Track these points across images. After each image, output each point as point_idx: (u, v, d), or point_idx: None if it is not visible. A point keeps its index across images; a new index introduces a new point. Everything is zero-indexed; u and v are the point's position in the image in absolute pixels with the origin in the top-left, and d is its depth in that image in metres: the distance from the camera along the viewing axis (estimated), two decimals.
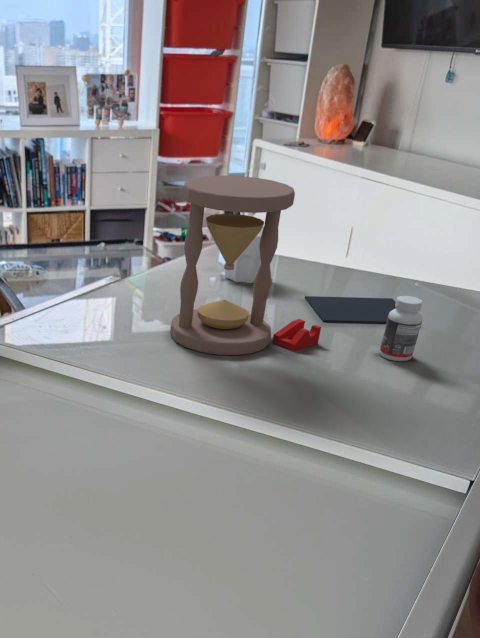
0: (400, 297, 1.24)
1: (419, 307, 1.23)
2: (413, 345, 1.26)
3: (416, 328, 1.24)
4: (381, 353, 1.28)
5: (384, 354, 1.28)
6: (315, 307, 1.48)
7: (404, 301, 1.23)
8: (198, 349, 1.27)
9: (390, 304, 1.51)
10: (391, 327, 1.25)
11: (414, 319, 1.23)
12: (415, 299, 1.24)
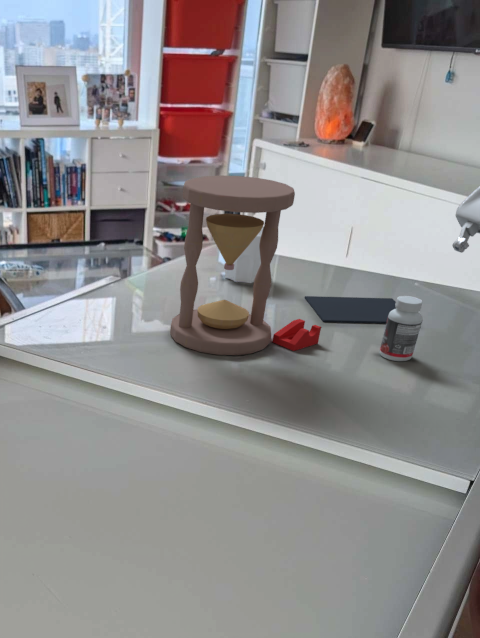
0: (400, 297, 1.24)
1: (419, 307, 1.23)
2: (413, 345, 1.26)
3: (416, 328, 1.24)
4: (381, 353, 1.28)
5: (384, 354, 1.28)
6: (315, 307, 1.48)
7: (404, 301, 1.23)
8: (198, 349, 1.27)
9: (390, 304, 1.51)
10: (391, 327, 1.25)
11: (414, 319, 1.23)
12: (415, 299, 1.24)
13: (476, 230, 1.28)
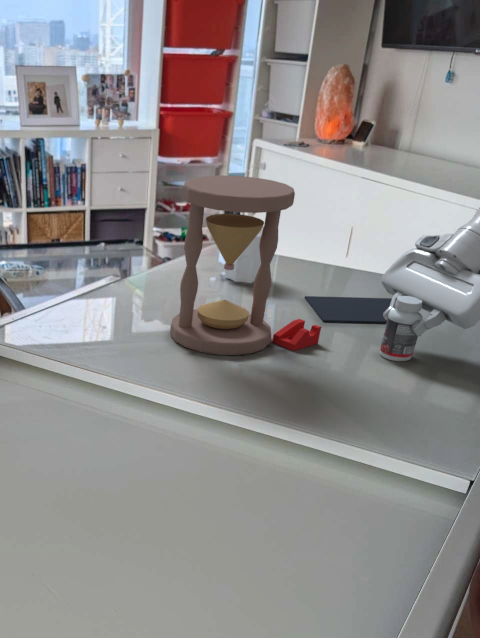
0: (400, 297, 1.24)
1: (419, 307, 1.23)
2: (413, 345, 1.26)
3: None
4: (381, 353, 1.28)
5: (384, 354, 1.28)
6: (315, 307, 1.48)
7: (404, 301, 1.23)
8: (198, 349, 1.27)
9: None
10: (391, 327, 1.25)
11: (414, 319, 1.23)
12: (415, 299, 1.24)
13: None
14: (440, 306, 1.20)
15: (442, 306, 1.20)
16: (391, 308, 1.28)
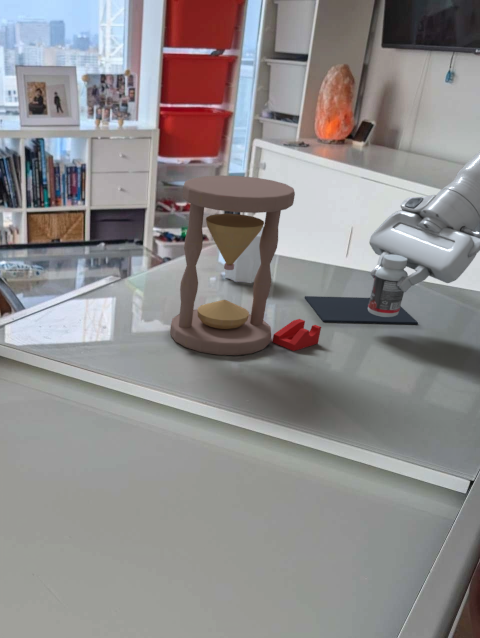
0: (386, 255, 1.31)
1: (404, 264, 1.30)
2: (399, 301, 1.33)
3: None
4: (369, 310, 1.35)
5: (372, 310, 1.35)
6: (315, 307, 1.48)
7: (390, 259, 1.30)
8: (198, 349, 1.27)
9: None
10: (378, 284, 1.32)
11: (400, 275, 1.30)
12: (401, 257, 1.31)
13: None
14: (423, 262, 1.27)
15: (426, 262, 1.27)
16: (378, 267, 1.35)
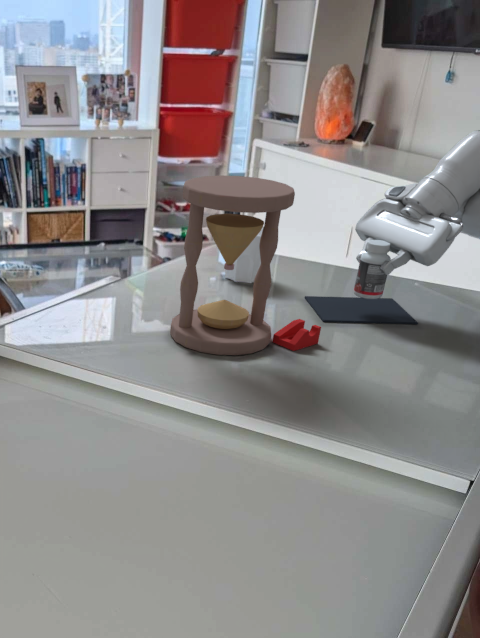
0: (371, 241, 1.39)
1: (387, 249, 1.38)
2: (383, 284, 1.41)
3: None
4: (355, 292, 1.43)
5: (357, 293, 1.43)
6: (315, 307, 1.48)
7: (374, 243, 1.38)
8: (198, 349, 1.27)
9: (390, 304, 1.51)
10: (362, 268, 1.40)
11: (383, 259, 1.38)
12: (384, 242, 1.39)
13: None
14: (405, 247, 1.35)
15: (407, 246, 1.35)
16: (363, 252, 1.43)
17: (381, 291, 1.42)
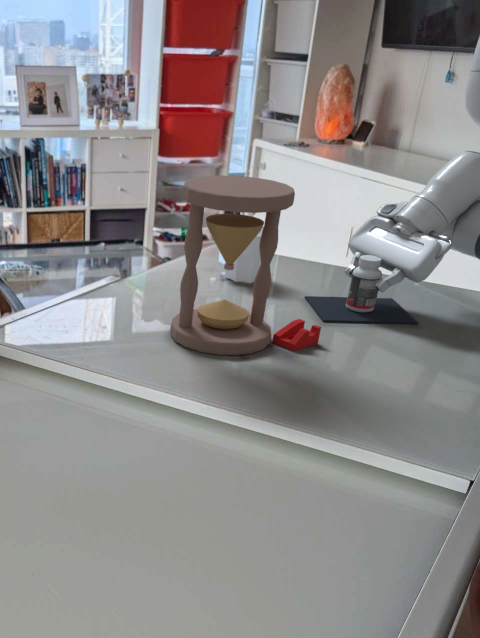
0: (362, 256, 1.43)
1: (378, 264, 1.42)
2: (374, 298, 1.45)
3: None
4: (347, 306, 1.47)
5: (350, 306, 1.47)
6: (315, 307, 1.48)
7: (365, 259, 1.42)
8: (198, 349, 1.27)
9: (390, 304, 1.51)
10: (355, 282, 1.44)
11: (374, 274, 1.42)
12: (375, 257, 1.43)
13: None
14: (395, 263, 1.39)
15: (397, 263, 1.39)
16: (351, 265, 1.48)
17: (373, 305, 1.46)
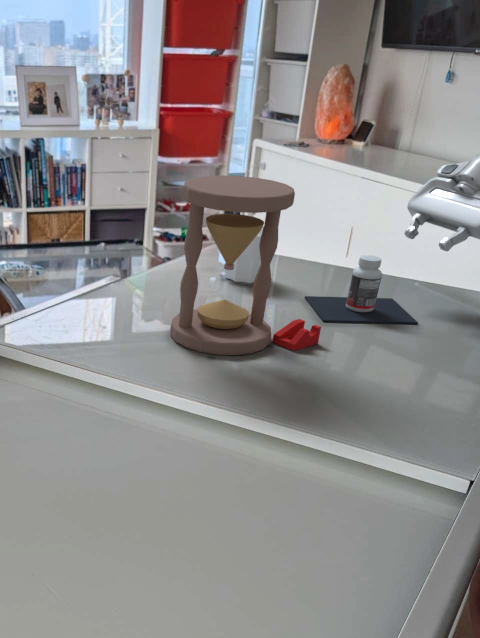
0: (362, 256, 1.43)
1: (378, 264, 1.42)
2: (374, 298, 1.45)
3: (376, 283, 1.43)
4: (347, 306, 1.47)
5: (350, 306, 1.47)
6: (315, 307, 1.48)
7: (365, 259, 1.42)
8: (198, 349, 1.27)
9: (390, 304, 1.51)
10: (355, 282, 1.44)
11: (374, 274, 1.42)
12: (375, 257, 1.43)
13: (424, 220, 1.48)
14: (460, 221, 1.39)
15: (462, 221, 1.39)
16: (411, 226, 1.48)
17: (373, 305, 1.46)
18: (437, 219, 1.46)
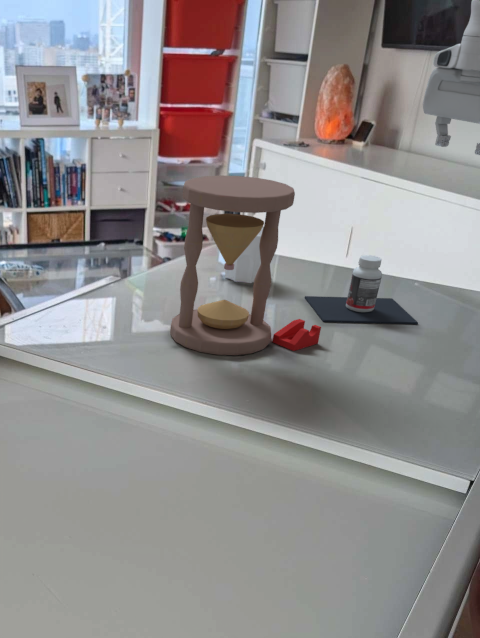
0: (362, 256, 1.43)
1: (378, 264, 1.42)
2: (374, 298, 1.45)
3: (376, 283, 1.43)
4: (347, 306, 1.47)
5: (350, 306, 1.47)
6: (315, 307, 1.48)
7: (365, 259, 1.42)
8: (198, 349, 1.27)
9: (390, 304, 1.51)
10: (355, 282, 1.44)
11: (374, 274, 1.42)
12: (375, 257, 1.43)
13: None
14: None
15: None
16: (439, 136, 1.34)
17: (373, 305, 1.46)
18: None
